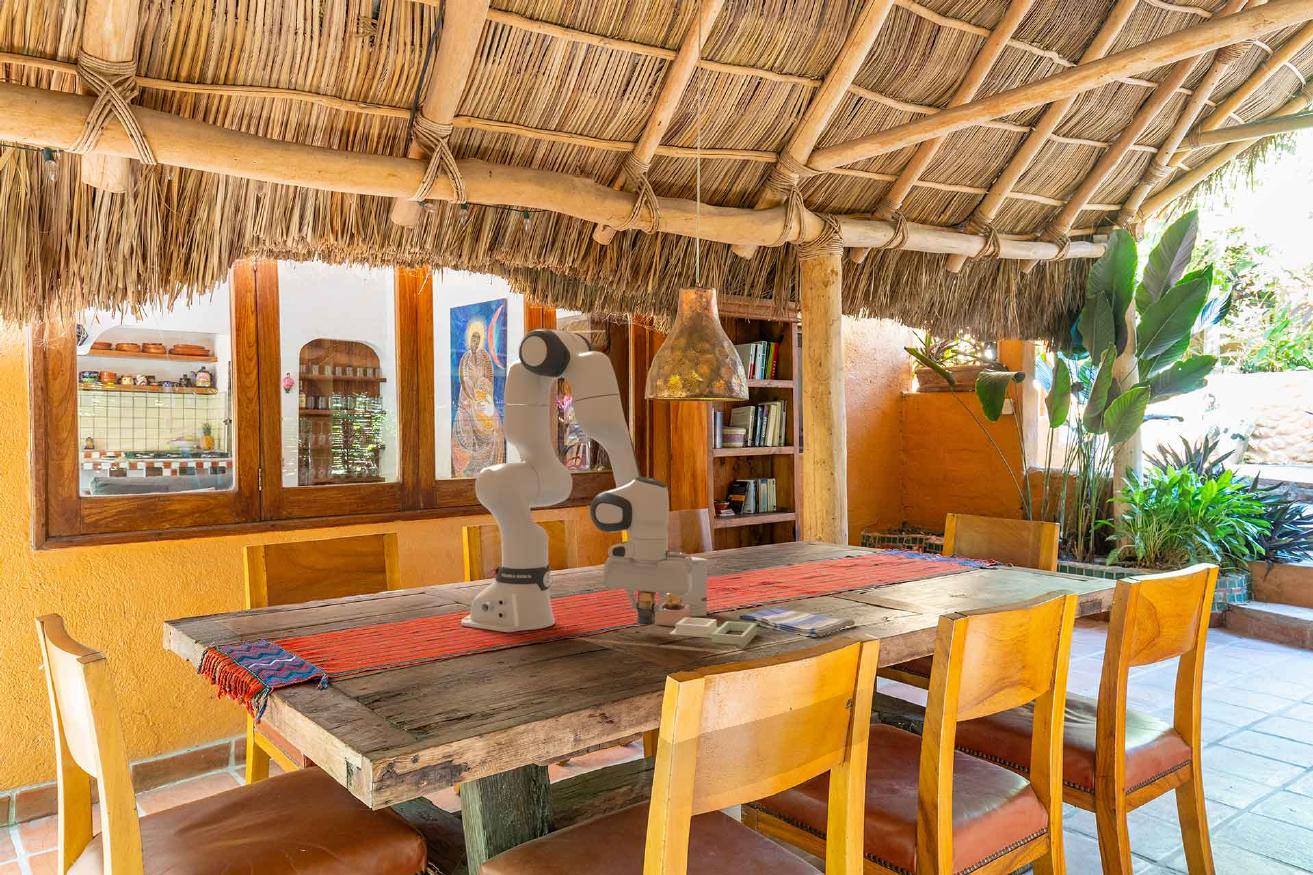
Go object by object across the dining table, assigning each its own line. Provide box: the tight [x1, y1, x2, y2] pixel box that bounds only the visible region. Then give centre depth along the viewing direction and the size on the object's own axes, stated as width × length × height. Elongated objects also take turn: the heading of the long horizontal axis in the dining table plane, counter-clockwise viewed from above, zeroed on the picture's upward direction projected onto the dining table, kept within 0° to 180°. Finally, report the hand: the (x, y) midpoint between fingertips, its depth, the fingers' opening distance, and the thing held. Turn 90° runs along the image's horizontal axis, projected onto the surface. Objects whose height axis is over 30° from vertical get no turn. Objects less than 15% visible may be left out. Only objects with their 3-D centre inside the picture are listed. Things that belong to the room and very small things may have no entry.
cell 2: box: [663, 594, 681, 610], centre depth 208 cm, size 4×4×8 cm
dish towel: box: [738, 607, 856, 638], centre depth 209 cm, size 17×24×3 cm
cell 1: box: [636, 591, 657, 625], centre depth 196 cm, size 4×4×8 cm
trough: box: [711, 620, 757, 649], centre depth 194 cm, size 7×13×3 cm, turn 161°
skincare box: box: [681, 556, 708, 618], centre depth 217 cm, size 8×6×15 cm
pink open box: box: [653, 602, 691, 627], centre depth 208 cm, size 7×7×4 cm
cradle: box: [669, 617, 720, 639], centre depth 199 cm, size 10×9×3 cm
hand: (646, 610), depth 196 cm, fingers closed on cell 1, 4 cm apart
